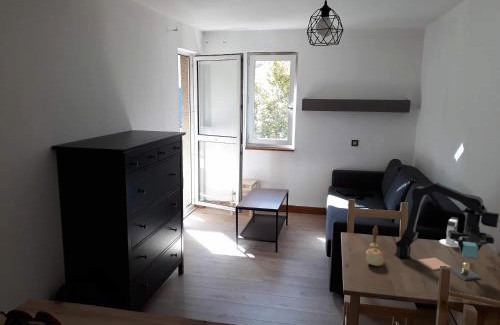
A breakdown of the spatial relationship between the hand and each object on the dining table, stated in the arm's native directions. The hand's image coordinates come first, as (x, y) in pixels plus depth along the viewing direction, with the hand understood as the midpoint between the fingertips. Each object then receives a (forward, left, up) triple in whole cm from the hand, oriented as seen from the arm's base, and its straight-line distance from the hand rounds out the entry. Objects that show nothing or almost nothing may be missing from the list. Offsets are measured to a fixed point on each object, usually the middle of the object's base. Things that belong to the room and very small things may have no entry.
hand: (468, 253), depth 186 cm
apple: (-38, +19, -12) cm, 44 cm away
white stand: (+23, +35, -12) cm, 44 cm away
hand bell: (-31, +31, -12) cm, 45 cm away
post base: (0, 0, -11) cm, 11 cm away
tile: (-7, +13, -11) cm, 19 cm away
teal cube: (0, 0, 0) cm, 0 cm away
